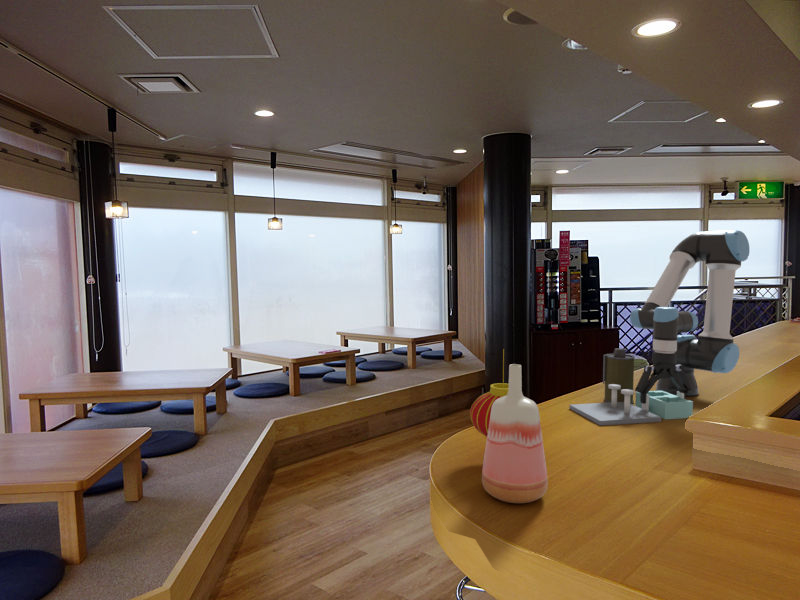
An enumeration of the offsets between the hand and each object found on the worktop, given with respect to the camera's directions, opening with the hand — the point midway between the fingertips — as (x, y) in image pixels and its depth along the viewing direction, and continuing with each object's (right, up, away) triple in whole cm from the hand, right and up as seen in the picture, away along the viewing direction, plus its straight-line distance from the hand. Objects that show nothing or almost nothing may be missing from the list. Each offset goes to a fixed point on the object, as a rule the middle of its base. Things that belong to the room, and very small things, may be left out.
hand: (662, 411), depth 184 cm
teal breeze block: (0, 0, 0) cm, 0 cm away
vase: (-66, -5, -65) cm, 93 cm away
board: (-19, 0, -3) cm, 19 cm away
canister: (-10, +1, +15) cm, 17 cm away
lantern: (-65, -4, -45) cm, 79 cm away
